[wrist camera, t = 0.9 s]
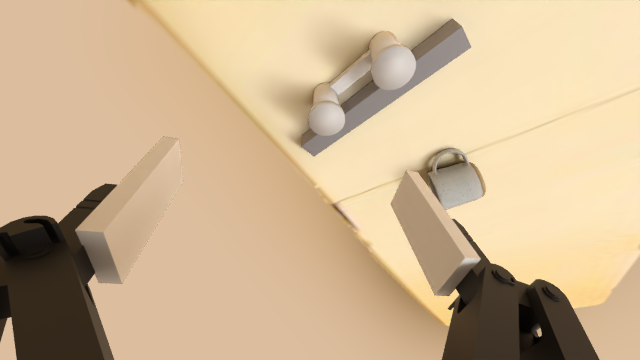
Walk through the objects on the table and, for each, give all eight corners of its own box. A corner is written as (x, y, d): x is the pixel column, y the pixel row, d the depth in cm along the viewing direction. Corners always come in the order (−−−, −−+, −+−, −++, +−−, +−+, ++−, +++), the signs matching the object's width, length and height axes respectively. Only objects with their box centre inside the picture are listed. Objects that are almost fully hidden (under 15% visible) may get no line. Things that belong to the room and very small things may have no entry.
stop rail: (433, -23, 28) (457, -8, 23) (461, 38, 33) (486, 61, 28) (278, 115, 41) (273, 143, 36) (314, 145, 46) (313, 173, 41)
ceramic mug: (472, 176, 52) (489, 206, 47) (430, 188, 55) (442, 218, 49) (468, 139, 45) (488, 169, 40) (421, 154, 48) (433, 185, 42)
